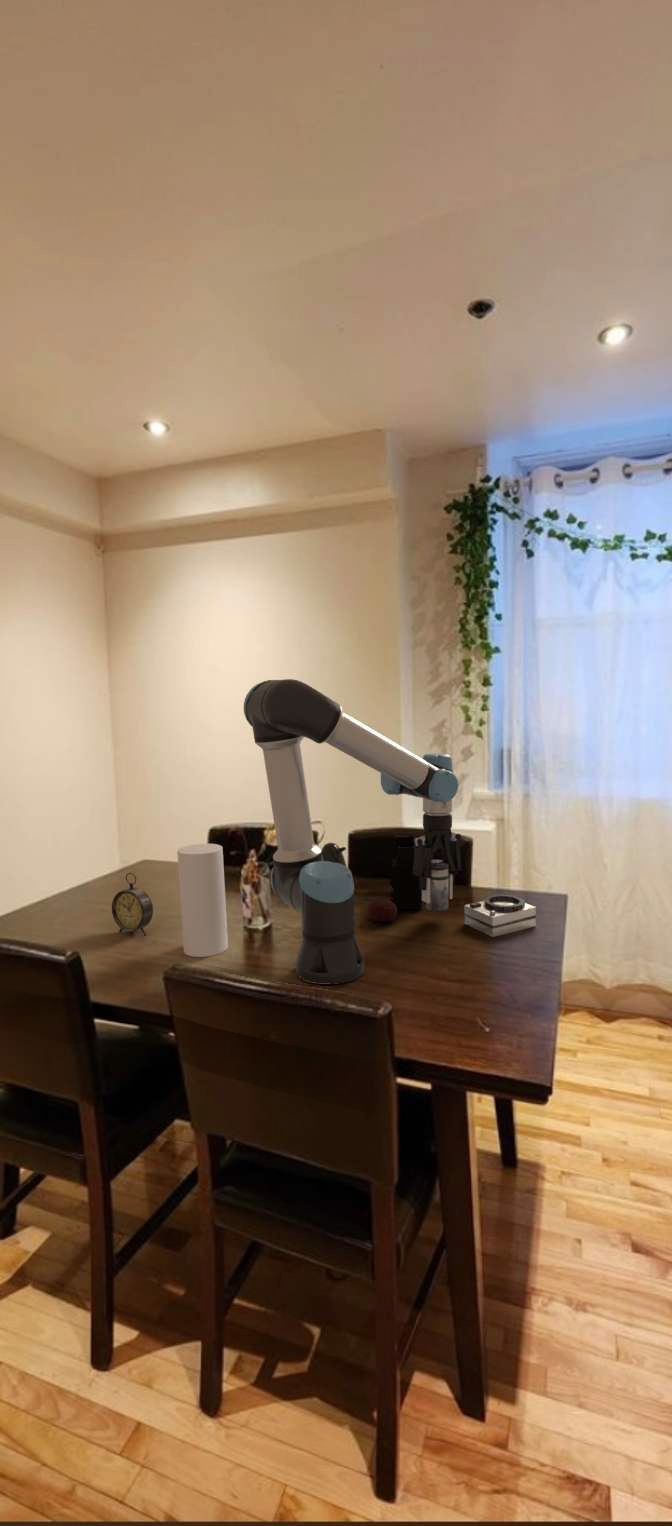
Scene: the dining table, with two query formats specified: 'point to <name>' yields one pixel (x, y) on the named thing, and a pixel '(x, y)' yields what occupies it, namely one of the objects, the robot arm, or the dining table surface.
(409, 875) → the camera
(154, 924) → the dining table surface
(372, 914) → the potato
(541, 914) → the dining table surface
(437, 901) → the lens
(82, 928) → the dining table surface
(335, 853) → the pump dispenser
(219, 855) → the tall pillar cylinder
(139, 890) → the alarm clock
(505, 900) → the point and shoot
